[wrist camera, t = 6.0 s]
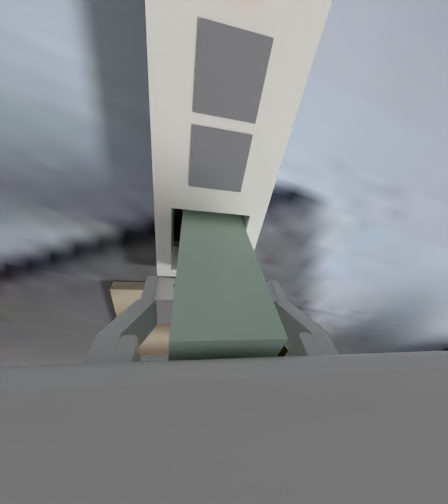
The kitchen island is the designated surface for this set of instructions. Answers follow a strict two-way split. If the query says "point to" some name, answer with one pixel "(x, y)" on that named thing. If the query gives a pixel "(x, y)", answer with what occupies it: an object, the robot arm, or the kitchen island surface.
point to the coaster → (125, 297)
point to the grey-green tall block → (221, 294)
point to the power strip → (223, 104)
